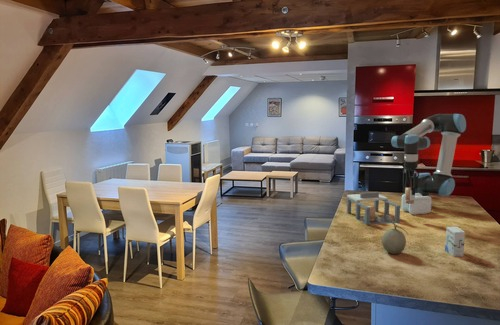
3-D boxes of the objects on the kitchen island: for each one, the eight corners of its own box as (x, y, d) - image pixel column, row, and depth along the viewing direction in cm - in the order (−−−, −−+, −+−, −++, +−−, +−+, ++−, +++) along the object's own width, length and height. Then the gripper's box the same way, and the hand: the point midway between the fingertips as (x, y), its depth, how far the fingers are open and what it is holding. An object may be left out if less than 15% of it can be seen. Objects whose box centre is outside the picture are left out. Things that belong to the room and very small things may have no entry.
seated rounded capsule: (372, 219, 236) (373, 205, 235) (376, 221, 232) (376, 207, 230) (365, 220, 235) (366, 205, 234) (369, 222, 231) (369, 207, 230)
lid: (376, 194, 255) (376, 188, 254) (387, 199, 241) (388, 193, 240) (347, 196, 251) (347, 190, 250) (356, 201, 237) (356, 194, 237)
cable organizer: (421, 209, 259) (422, 192, 258) (431, 213, 249) (432, 196, 247) (400, 211, 256) (401, 194, 255) (410, 215, 246) (411, 197, 245)
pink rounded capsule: (410, 201, 237) (411, 187, 236) (415, 203, 233) (415, 188, 231) (404, 202, 236) (404, 187, 235) (408, 203, 232) (408, 189, 231)
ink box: (444, 249, 187) (445, 226, 185) (454, 249, 187) (456, 226, 185) (453, 256, 178) (454, 232, 177) (464, 256, 178) (465, 231, 176)
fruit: (405, 259, 176) (406, 227, 174) (379, 254, 182) (380, 223, 180) (409, 251, 185) (410, 221, 183) (384, 247, 191) (385, 218, 189)
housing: (376, 211, 256) (377, 195, 254) (399, 223, 229) (400, 205, 228) (346, 213, 252) (347, 197, 250) (366, 226, 226) (366, 207, 224)
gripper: (397, 159, 239) (396, 196, 242) (413, 163, 221) (412, 203, 225) (408, 158, 240) (407, 195, 243) (425, 162, 223) (424, 202, 226)
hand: (409, 199), depth 234 cm, fingers closed on pink rounded capsule, 5 cm apart
